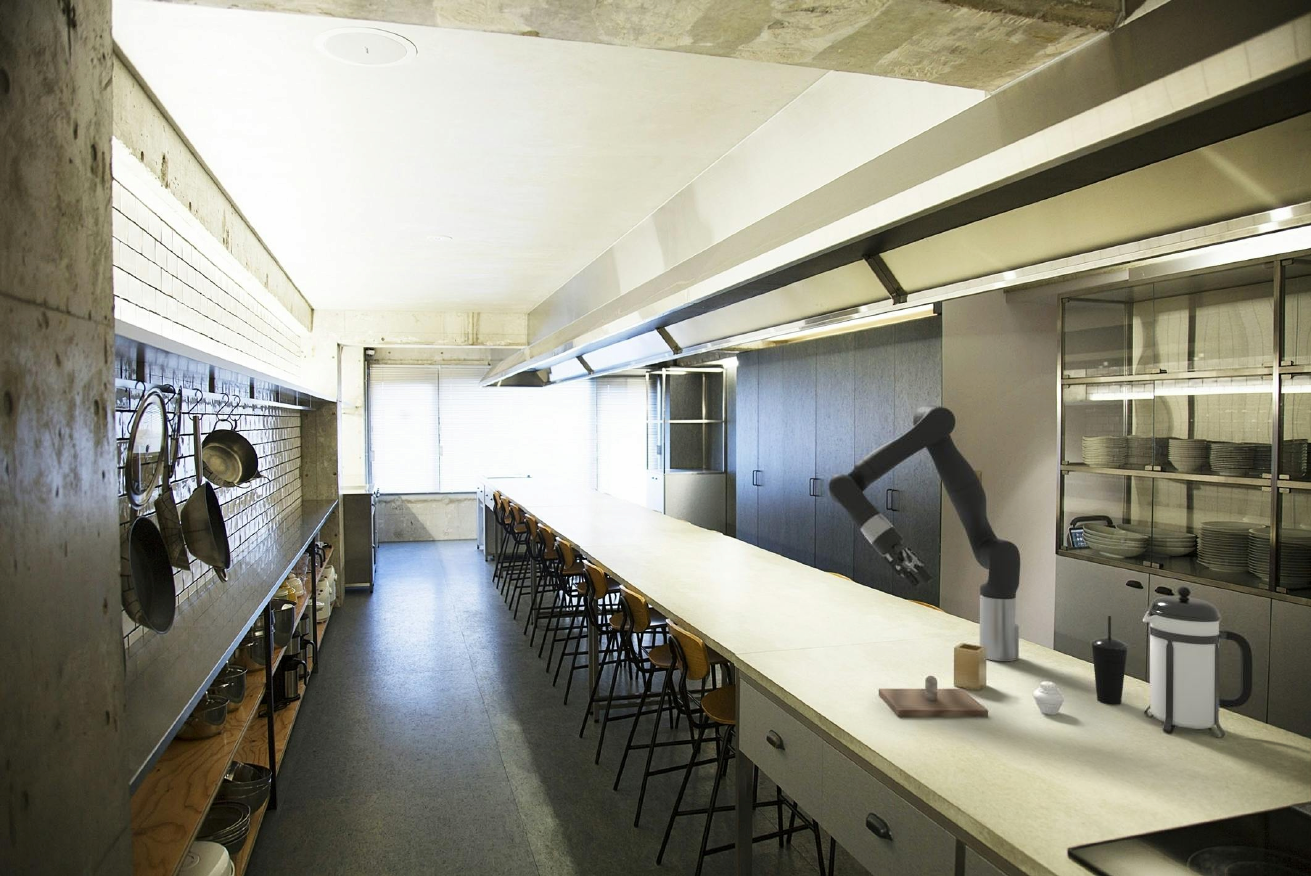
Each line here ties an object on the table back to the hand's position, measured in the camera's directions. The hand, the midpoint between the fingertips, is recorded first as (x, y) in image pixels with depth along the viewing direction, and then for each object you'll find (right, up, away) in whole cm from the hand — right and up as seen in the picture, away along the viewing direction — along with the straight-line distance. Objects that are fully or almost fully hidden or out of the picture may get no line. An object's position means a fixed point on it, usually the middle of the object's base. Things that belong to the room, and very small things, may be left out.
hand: (924, 583), depth 193 cm
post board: (-6, -24, -21) cm, 33 cm away
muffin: (+19, -24, -25) cm, 40 cm away
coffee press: (+45, -25, -33) cm, 61 cm away
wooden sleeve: (+9, -24, -7) cm, 27 cm away
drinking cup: (+37, -24, -18) cm, 48 cm away
